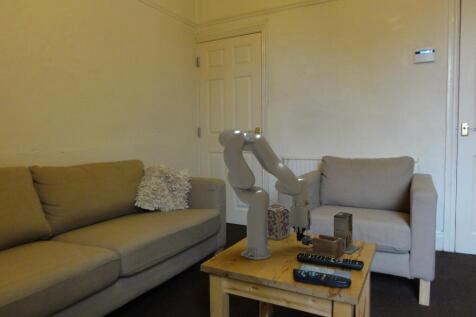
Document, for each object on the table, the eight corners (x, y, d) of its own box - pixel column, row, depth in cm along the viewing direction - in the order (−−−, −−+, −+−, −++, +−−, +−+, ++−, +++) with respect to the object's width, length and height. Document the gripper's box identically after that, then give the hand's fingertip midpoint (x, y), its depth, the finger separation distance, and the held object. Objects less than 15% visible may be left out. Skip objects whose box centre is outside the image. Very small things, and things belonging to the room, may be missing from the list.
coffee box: (339, 243, 174) (340, 211, 173) (352, 246, 170) (353, 213, 169) (333, 248, 166) (333, 215, 165) (346, 251, 163) (346, 217, 161)
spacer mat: (350, 254, 160) (350, 253, 160) (326, 249, 167) (326, 248, 167) (360, 247, 169) (360, 246, 169) (336, 243, 177) (336, 241, 177)
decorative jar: (279, 241, 181) (279, 206, 180) (260, 237, 188) (260, 204, 187) (290, 235, 191) (290, 203, 190) (272, 232, 198) (272, 200, 197)
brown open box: (333, 259, 153) (334, 243, 153) (305, 253, 162) (305, 237, 162) (343, 253, 161) (343, 237, 160) (315, 247, 170) (315, 232, 169)
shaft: (328, 251, 158) (328, 241, 157) (301, 245, 166) (301, 236, 166) (332, 249, 161) (332, 238, 161) (306, 243, 170) (306, 233, 170)
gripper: (317, 203, 167) (317, 241, 168) (290, 200, 176) (290, 236, 177) (310, 206, 161) (310, 245, 162) (282, 202, 170) (282, 239, 172)
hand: (299, 240), depth 170 cm, fingers closed
